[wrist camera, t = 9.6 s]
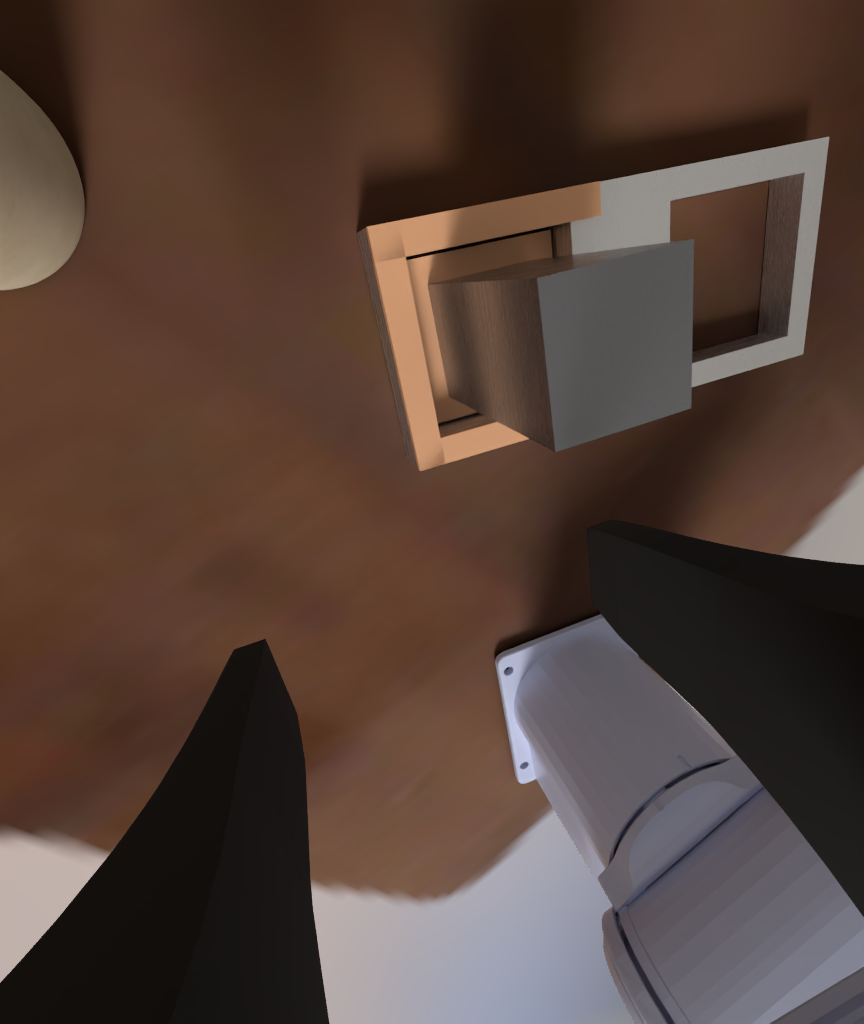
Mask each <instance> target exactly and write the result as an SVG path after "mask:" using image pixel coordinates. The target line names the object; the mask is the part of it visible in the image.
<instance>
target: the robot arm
mask: <svg viewBox="0 0 864 1024" xmlns="http://www.w3.org/2000/svg"><path fill="white" fill-rule="evenodd" d="M587 534H588V549H589V563H590V578H591V593H592V603H593V604H594V605H595V607H596V608H597V609H598V611H599V612H600V613H601V614H600V615H597V616H594V617H592V618H589V619H587V620H584V621H581V622H579V623H576V624H574V625H571V626H568V627H566V628H563V629H561V630H558V631H555V632H553V633H550V634H548V635H545V636H542V637H540V638H537V639H535V640H532V641H529V642H527V643H524V644H521V645H519V646H516V647H514V648H511V649H508V650H506V651H503V652H501V653H500V654H499V655H498V656H497V657H496V659H495V664H496V670H497V675H498V681H499V686H500V692H501V698H502V703H503V709H504V714H505V720H506V725H507V731H508V737H509V742H510V748H511V753H512V759H513V764H514V770H515V776H516V778H517V780H518V781H519V783H522V784H525V783H528V782H530V781H532V780H535V779H537V781H538V783H539V784H540V786H541V788H542V789H543V791H544V793H545V795H546V796H547V798H548V800H549V801H550V803H551V805H552V807H553V808H554V810H555V812H556V814H557V815H558V817H559V819H560V820H561V822H562V824H563V825H564V827H565V829H566V831H567V832H568V834H569V836H570V838H571V839H572V841H573V843H574V844H575V846H576V848H577V850H578V851H579V853H580V855H581V857H582V858H583V860H584V862H585V863H586V865H587V867H588V868H589V870H590V871H591V873H592V874H593V875H594V877H595V878H596V879H597V880H598V882H600V884H601V886H602V888H603V889H604V891H605V893H606V895H607V896H608V898H609V900H610V901H611V903H612V905H613V906H612V907H611V908H610V909H608V910H607V911H606V912H605V913H604V915H603V917H602V930H603V947H604V953H605V958H606V961H607V965H608V967H609V970H610V973H611V976H612V978H613V980H614V983H615V985H616V987H617V990H618V992H619V994H620V996H621V998H622V1000H623V1002H624V1004H625V1006H626V1008H627V1010H628V1012H629V1014H630V1015H631V1017H632V1019H633V1021H634V1023H635V1024H864V565H856V564H846V563H835V562H827V561H819V560H811V559H803V558H796V557H789V556H782V555H776V554H770V553H764V552H759V551H754V550H749V549H743V548H738V547H733V546H728V545H724V544H719V543H714V542H710V541H705V540H701V539H697V538H692V537H688V536H684V535H680V534H676V533H671V532H667V531H663V530H659V529H655V528H650V527H646V526H642V525H637V524H632V523H628V522H622V521H615V520H609V521H606V522H603V523H600V524H597V525H595V526H592V527H589V528H587ZM638 655H639V656H640V657H641V658H642V659H643V660H644V661H645V662H646V663H647V664H648V665H649V666H650V667H651V668H652V669H654V670H655V671H656V672H657V673H658V674H659V675H660V676H661V677H662V678H663V679H664V680H665V681H666V682H667V683H668V684H669V685H670V686H672V687H673V688H674V689H675V690H676V691H677V692H678V693H679V694H680V695H681V696H682V697H683V698H684V699H685V700H686V701H687V702H689V703H690V704H691V705H692V706H693V707H694V708H695V709H696V710H697V711H698V712H699V713H700V714H701V715H702V716H703V717H704V718H705V719H706V720H707V721H708V722H709V723H708V722H707V721H706V720H705V719H703V718H702V717H701V716H700V715H699V714H698V713H697V712H696V711H695V710H694V709H693V708H692V707H691V706H690V705H689V704H687V702H685V701H684V700H683V699H682V698H681V697H680V696H679V695H678V694H677V693H676V692H675V691H674V690H673V689H672V688H671V687H670V686H669V685H667V684H666V683H665V682H664V681H663V680H662V679H661V678H660V677H659V676H658V675H657V674H656V673H655V672H654V671H653V670H652V669H651V668H649V667H648V666H647V665H646V664H645V663H644V662H643V661H642V660H641V659H640V658H639V657H638ZM507 667H509V668H508V669H507V670H505V669H506V668H507ZM0 1024H329V1019H328V1012H327V1005H326V998H325V992H324V985H323V978H322V971H321V965H320V958H319V950H318V942H317V935H316V929H315V920H314V913H313V905H312V893H311V881H310V861H309V837H308V814H307V791H306V771H305V758H304V752H303V745H302V739H301V733H300V728H299V722H298V716H297V712H296V710H295V708H294V705H293V703H292V701H291V698H290V696H289V693H288V691H287V689H286V686H285V684H284V682H283V679H282V677H281V675H280V672H279V670H278V667H277V665H276V663H275V660H274V658H273V656H272V653H271V651H270V649H269V646H268V644H267V641H266V639H264V640H261V641H258V642H255V643H252V644H249V645H246V646H243V647H240V648H237V649H235V650H234V651H233V653H232V654H231V656H230V658H229V660H228V662H227V664H226V666H225V668H224V670H223V672H222V674H221V676H220V678H219V680H218V682H217V684H216V686H215V688H214V690H213V692H212V694H211V695H210V697H209V699H208V701H207V703H206V705H205V707H204V709H203V711H202V713H201V714H200V716H199V718H198V720H197V722H196V724H195V725H194V727H193V729H192V731H191V733H190V735H189V736H188V738H187V740H186V742H185V743H184V745H183V747H182V749H181V750H180V752H179V753H178V755H177V757H176V758H175V760H174V762H173V763H172V765H171V767H170V768H169V770H168V772H167V773H166V775H165V777H164V778H163V780H162V781H161V783H160V785H159V786H158V788H157V789H156V791H155V792H154V794H153V795H152V797H151V798H150V800H149V801H148V803H147V804H146V806H145V807H144V809H143V810H142V811H141V813H140V814H139V816H138V817H137V818H136V820H135V821H134V822H133V824H132V825H131V827H130V828H129V829H128V831H127V832H126V834H125V835H124V836H123V838H122V839H121V840H120V842H119V843H118V844H117V846H116V847H115V848H114V850H113V851H112V852H111V854H110V855H109V856H108V857H107V859H106V860H105V861H104V862H103V864H102V865H101V866H100V867H99V869H98V870H97V871H96V872H95V874H94V875H93V876H92V877H91V878H90V880H89V881H88V882H87V883H86V885H85V886H84V887H83V888H82V889H81V891H80V892H79V893H78V894H77V896H76V897H75V898H74V899H73V901H72V902H71V903H70V904H69V905H68V907H67V908H66V909H65V910H64V912H63V913H62V914H61V915H60V917H59V918H58V919H57V920H56V921H55V922H54V924H53V925H52V926H51V927H50V928H49V929H48V930H47V932H46V933H45V934H44V935H43V936H42V937H41V938H40V940H39V941H38V942H37V943H36V944H35V945H34V946H33V948H32V949H31V950H30V951H29V952H28V953H27V954H26V955H25V957H24V958H23V959H22V960H21V961H20V962H19V963H18V964H17V965H16V966H15V968H14V969H13V970H12V971H11V972H10V973H9V974H8V975H7V976H6V977H5V978H4V979H3V981H2V982H1V983H0Z"/></svg>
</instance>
